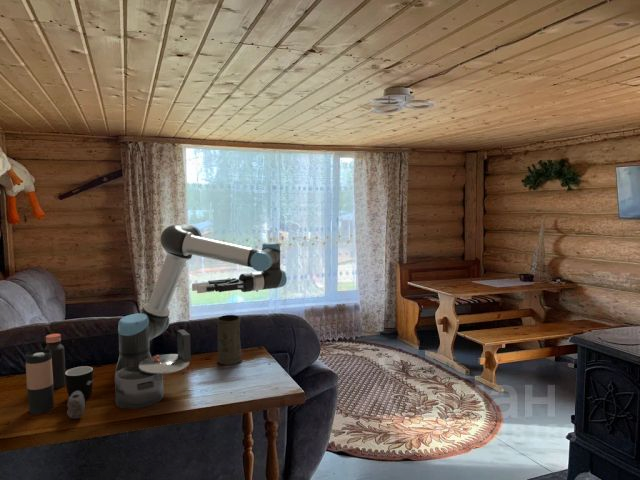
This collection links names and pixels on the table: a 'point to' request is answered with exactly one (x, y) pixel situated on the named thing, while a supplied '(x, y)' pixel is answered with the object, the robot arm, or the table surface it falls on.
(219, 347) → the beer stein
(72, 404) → the perforated stone tool
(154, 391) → the cooker pot
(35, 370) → the travel mug
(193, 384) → the table surface
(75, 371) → the mug
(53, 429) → the table surface
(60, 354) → the bottle
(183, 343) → the lid
